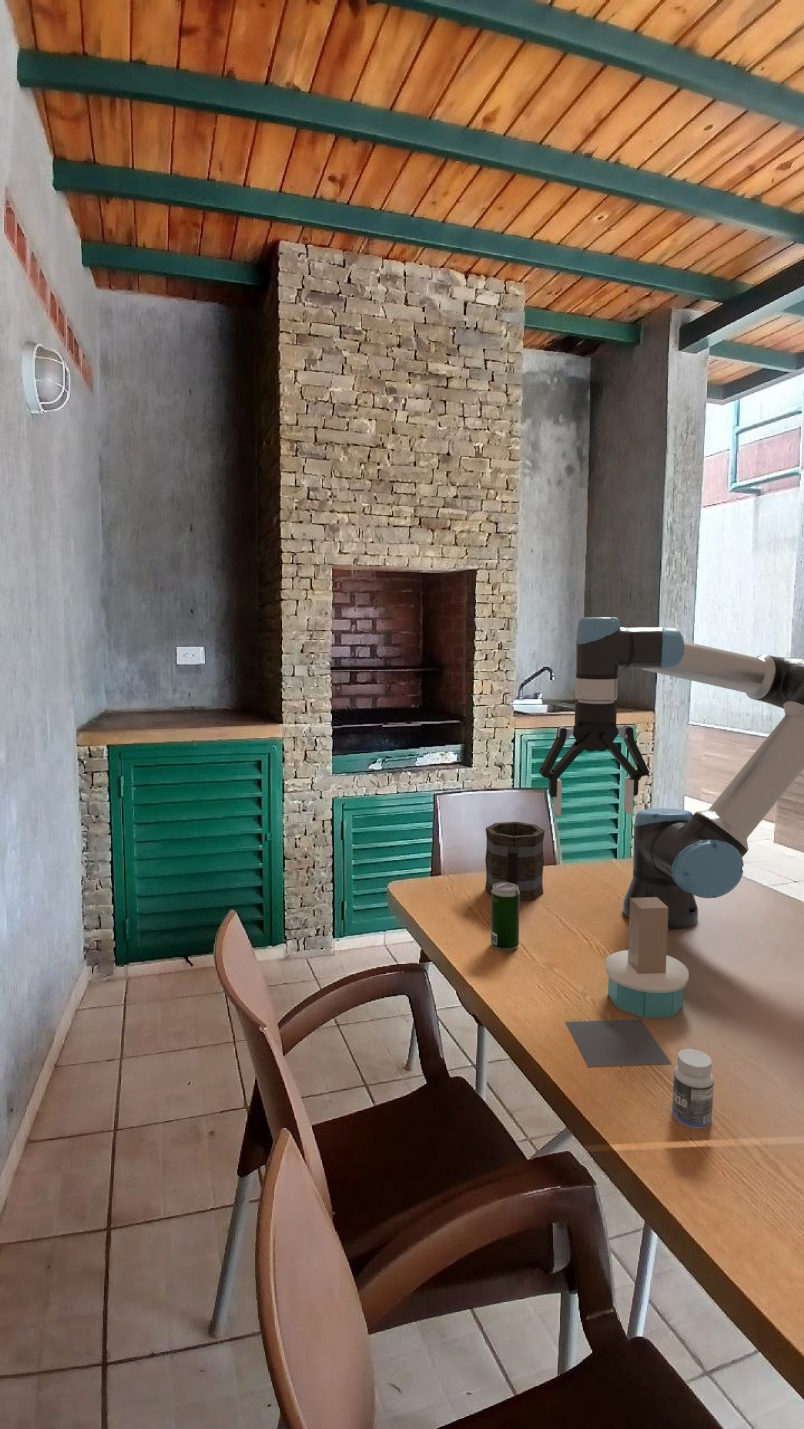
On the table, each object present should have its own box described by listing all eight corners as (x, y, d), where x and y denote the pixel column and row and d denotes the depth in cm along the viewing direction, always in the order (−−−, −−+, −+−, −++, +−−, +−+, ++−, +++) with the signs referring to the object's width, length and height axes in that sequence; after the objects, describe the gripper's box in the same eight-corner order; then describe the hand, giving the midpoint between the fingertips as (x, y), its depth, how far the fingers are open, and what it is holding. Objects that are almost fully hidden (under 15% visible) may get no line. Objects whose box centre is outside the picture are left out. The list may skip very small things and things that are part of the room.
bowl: (664, 985, 131) (665, 958, 130) (691, 1018, 120) (693, 989, 119) (601, 987, 130) (602, 959, 129) (623, 1021, 119) (624, 991, 119)
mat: (640, 1022, 119) (640, 1019, 119) (671, 1067, 107) (671, 1063, 107) (565, 1024, 118) (565, 1021, 118) (588, 1070, 106) (588, 1067, 106)
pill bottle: (665, 1108, 98) (668, 1047, 97) (700, 1106, 98) (703, 1045, 97) (682, 1132, 93) (685, 1069, 92) (718, 1130, 94) (722, 1067, 93)
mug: (486, 880, 184) (487, 820, 182) (543, 883, 181) (544, 822, 179) (480, 911, 164) (481, 844, 163) (543, 915, 162) (544, 847, 160)
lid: (668, 955, 131) (671, 887, 130) (702, 991, 118) (706, 917, 117) (595, 957, 130) (597, 889, 129) (621, 994, 118) (623, 919, 116)
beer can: (503, 954, 143) (504, 893, 141) (485, 944, 147) (485, 885, 146) (524, 947, 146) (525, 888, 144) (506, 938, 150) (506, 880, 149)
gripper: (654, 698, 144) (650, 806, 147) (524, 699, 143) (523, 809, 145) (670, 702, 136) (665, 816, 139) (533, 704, 135) (531, 819, 138)
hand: (592, 813), depth 142 cm, fingers open, 13 cm apart
